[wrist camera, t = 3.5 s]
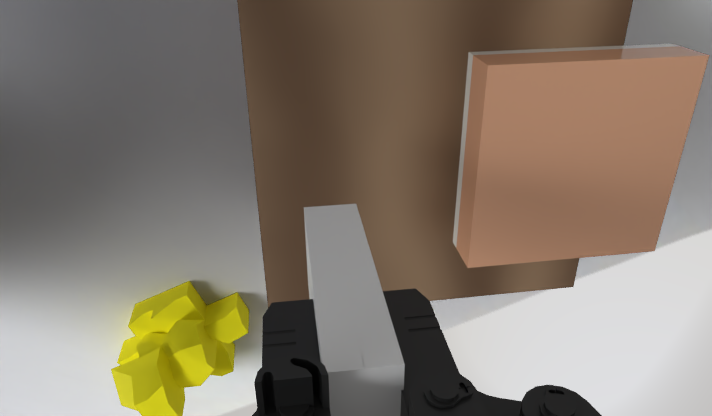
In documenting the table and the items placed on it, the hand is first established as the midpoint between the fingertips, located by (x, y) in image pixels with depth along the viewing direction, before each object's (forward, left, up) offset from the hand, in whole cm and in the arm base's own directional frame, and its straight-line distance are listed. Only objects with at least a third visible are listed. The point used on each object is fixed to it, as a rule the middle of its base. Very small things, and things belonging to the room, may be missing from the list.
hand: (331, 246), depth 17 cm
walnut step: (+5, 0, -16) cm, 16 cm away
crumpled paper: (-8, -15, -16) cm, 23 cm away
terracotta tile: (+10, 0, -6) cm, 11 cm away
